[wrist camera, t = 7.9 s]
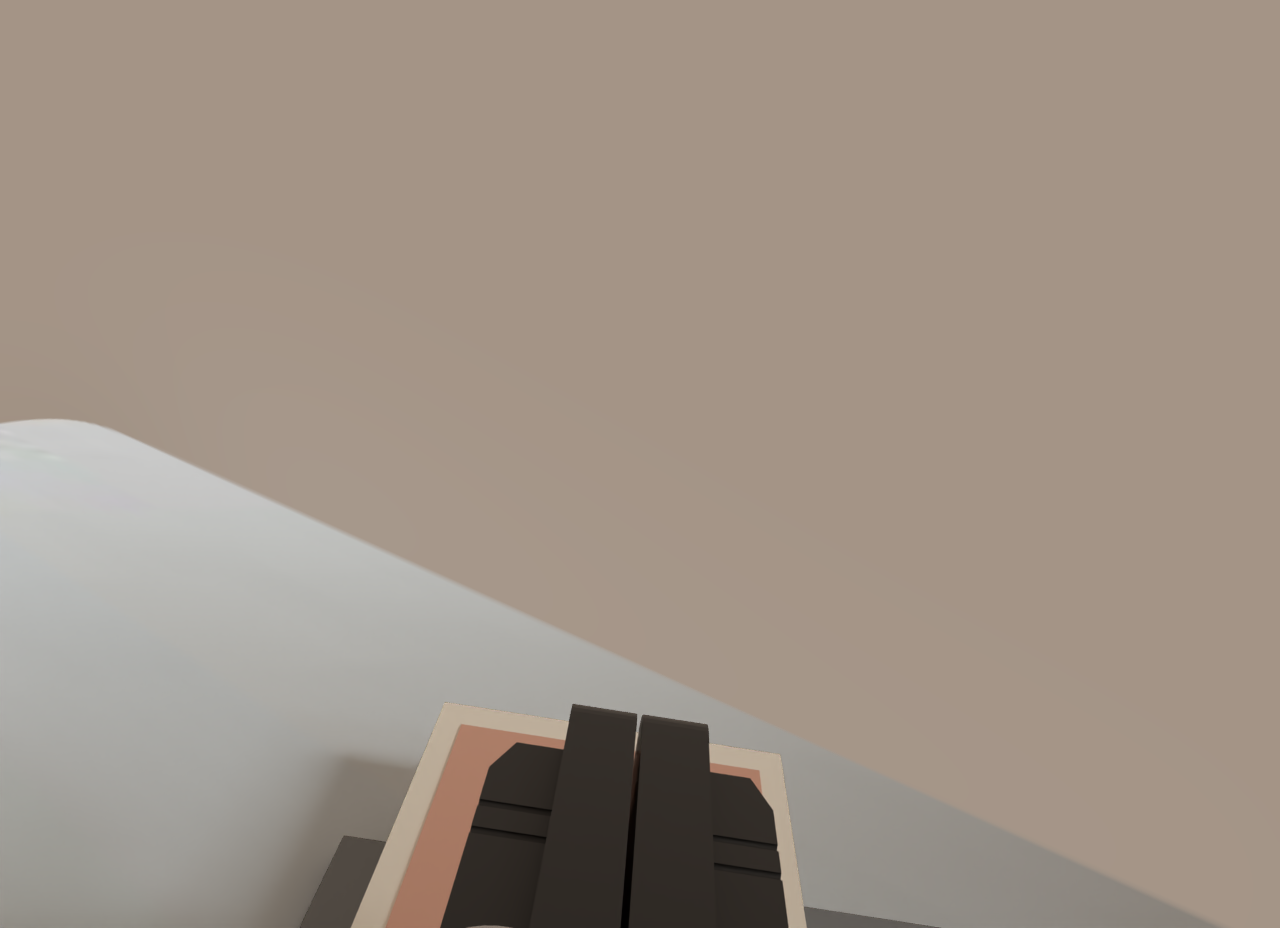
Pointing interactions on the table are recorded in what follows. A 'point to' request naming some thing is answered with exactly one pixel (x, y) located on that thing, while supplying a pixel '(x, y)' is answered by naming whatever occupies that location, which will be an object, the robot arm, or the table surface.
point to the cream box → (449, 794)
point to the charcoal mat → (359, 857)
